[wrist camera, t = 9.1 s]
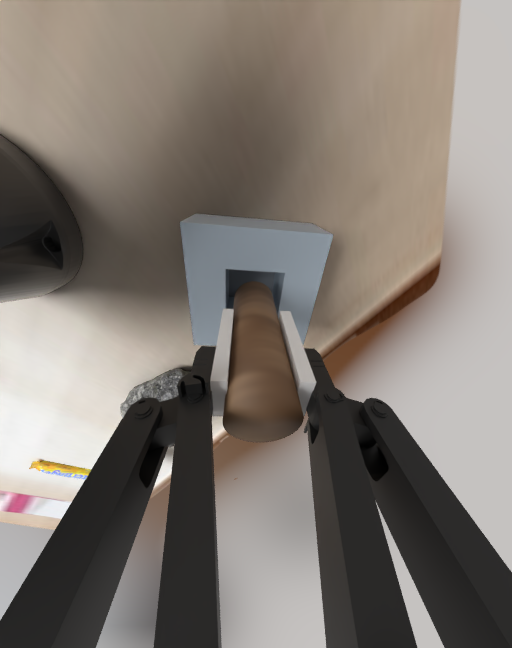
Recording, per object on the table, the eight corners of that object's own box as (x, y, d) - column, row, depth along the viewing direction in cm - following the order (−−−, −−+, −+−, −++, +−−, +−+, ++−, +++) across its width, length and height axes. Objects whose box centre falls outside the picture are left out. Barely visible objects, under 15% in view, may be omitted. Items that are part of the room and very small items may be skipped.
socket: (292, 319, 28) (302, 348, 23) (203, 315, 27) (193, 345, 22) (312, 223, 21) (333, 234, 16) (195, 213, 20) (179, 222, 15)
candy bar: (114, 471, 52) (111, 479, 51) (109, 477, 54) (106, 485, 52) (36, 455, 46) (29, 464, 44) (33, 462, 48) (26, 471, 46)
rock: (118, 398, 34) (121, 465, 29) (134, 360, 27) (142, 441, 22) (191, 387, 43) (203, 437, 38) (218, 355, 36) (237, 413, 31)
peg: (246, 321, 20) (247, 449, 10) (226, 292, 19) (206, 414, 9) (278, 305, 20) (314, 428, 10) (261, 274, 18) (284, 384, 8)
